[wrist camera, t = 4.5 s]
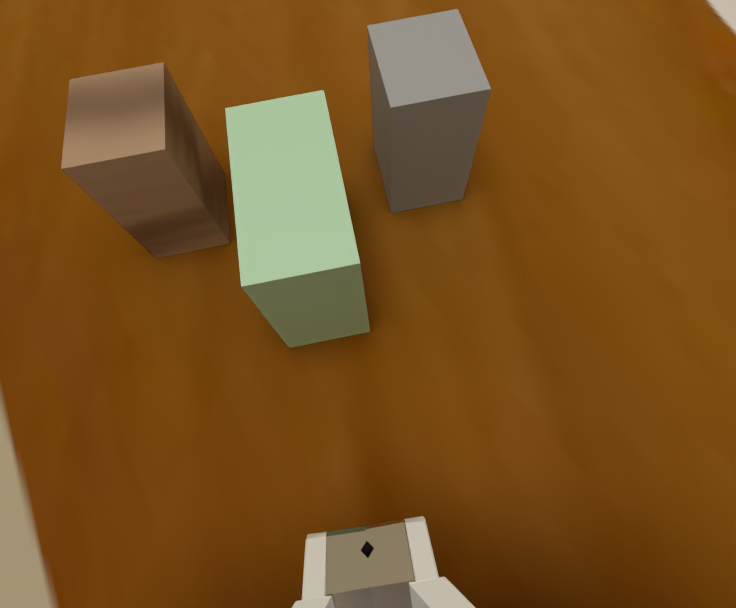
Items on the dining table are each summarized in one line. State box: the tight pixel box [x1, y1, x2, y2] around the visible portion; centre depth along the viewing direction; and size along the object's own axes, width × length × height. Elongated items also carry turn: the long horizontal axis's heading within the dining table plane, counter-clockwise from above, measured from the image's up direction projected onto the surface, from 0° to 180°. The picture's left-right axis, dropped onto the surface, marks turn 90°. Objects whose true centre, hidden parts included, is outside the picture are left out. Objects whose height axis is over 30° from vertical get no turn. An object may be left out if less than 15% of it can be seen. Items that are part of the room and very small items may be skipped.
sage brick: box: [225, 90, 370, 348], centre depth 24 cm, size 10×5×9 cm, turn 11°
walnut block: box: [61, 62, 230, 258], centre depth 26 cm, size 6×5×9 cm
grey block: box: [367, 9, 491, 213], centre depth 26 cm, size 6×5×9 cm
